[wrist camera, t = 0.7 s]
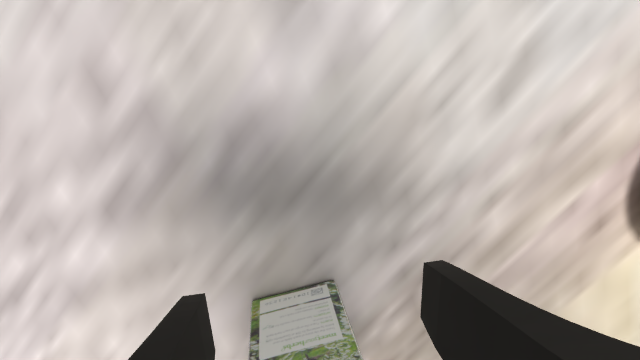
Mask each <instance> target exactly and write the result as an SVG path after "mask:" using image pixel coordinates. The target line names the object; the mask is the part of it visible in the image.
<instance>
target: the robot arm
mask: <svg viewBox="0 0 640 360" xmlns="http://www.w3.org/2000/svg"><path fill="white" fill-rule="evenodd" d="M421 319H422V321H423V323H424V325H425V328H426V330H427V332H428V334H429V336H430V338H431V340H432V342H433V344H434V346H435V348H436V350H437V351H438V353H439V354H440V356H441V358H442V359H443V360H640V347H638V346H635V345H632V344H629V343H626V342H623V341H620V340H618V339H615V338H612V337H609V336H606V335H604V334H601V333H598V332H596V331H593V330H591V329H588V328H586V327H583V326H580V325H578V324H575V323H573V322H570V321H568V320H565V319H563V318H561V317H558V316H556V315H554V314H551V313H549V312H547V311H545V310H543V309H540V308H538V307H536V306H534V305H532V304H529V303H527V302H525V301H523V300H521V299H519V298H517V297H515V296H513V295H511V294H509V293H507V292H505V291H503V290H501V289H499V288H497V287H495V286H493V285H491V284H489V283H487V282H485V281H483V280H481V279H479V278H478V277H476V276H474V275H472V274H470V273H468V272H466V271H464V270H462V269H460V268H458V267H456V266H454V265H452V264H450V263H447V262H445V261H443V260H440V261H433V262H426V263H424V268H423V285H422V301H421ZM128 360H215V346H214V341H213V335H212V330H211V324H210V319H209V313H208V308H207V302H206V297H205V293H203V294H196V295H189V296H182V298H181V299H180V300H179V301H178V302H177V303H176V304H175V305H174V307H173V308H172V309H171V310H170V311H169V313H168V314H167V315H166V316H165V317H164V319H163V320H162V321H161V322H160V323H159V325H158V326H157V327H156V328H155V329H154V330H153V332H152V333H151V334H150V335H149V336H148V337H147V339H146V340H145V341H144V342H143V343H142V344H141V345H140V347H139V348H138V349H137V350H136V351H135V352H134V353H133V355H132V356H131V357H130V358H129V359H128Z"/></svg>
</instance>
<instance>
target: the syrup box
mask: <svg viewBox="0 0 640 360" xmlns="http://www.w3.org/2000/svg"><path fill="white" fill-rule="evenodd" d="M249 360H363V358H362V356H361V353H360V350H359V347H358V345H357V342H356V339H355V336H354V333H353V331H352V328H351V325H350V323H349V320H348V317H347V314H346V311H345V308H344V306H343V303H342V300H341V297H340V294H339V292H338V289H337V286H336V283H335V282H334V281H333V280H332V281H328V282H324V283H320V284H316V285H313V286H309V287H305V288H301V289H297V290H293V291H289V292H286V293H282V294H278V295H274V296H270V297H266V298H262V299H258V300H255V301H253V302H252V305H251V325H250V341H249Z"/></svg>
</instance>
